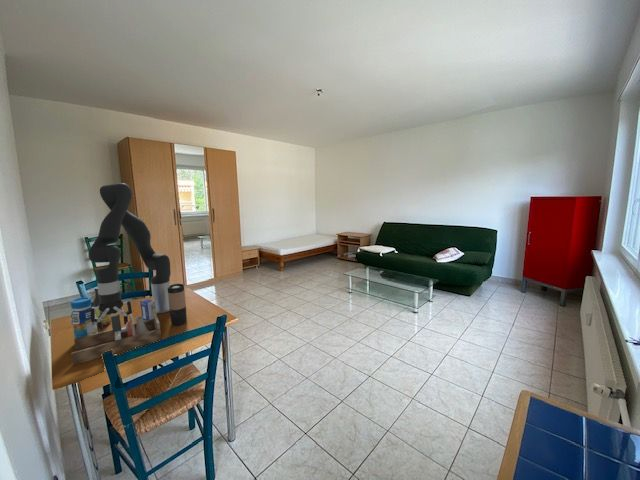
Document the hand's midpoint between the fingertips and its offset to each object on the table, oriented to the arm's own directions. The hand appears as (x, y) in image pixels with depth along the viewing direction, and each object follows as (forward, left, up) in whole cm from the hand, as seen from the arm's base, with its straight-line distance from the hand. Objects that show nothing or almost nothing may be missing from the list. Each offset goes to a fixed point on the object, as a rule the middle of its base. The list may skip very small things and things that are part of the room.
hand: (113, 326), depth 118 cm
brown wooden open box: (-2, 0, -9) cm, 9 cm away
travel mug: (-27, -6, -9) cm, 29 cm away
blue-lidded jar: (+10, -13, -9) cm, 19 cm away
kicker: (-3, 0, -9) cm, 9 cm away
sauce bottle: (+4, -28, -9) cm, 30 cm away
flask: (-10, -1, -9) cm, 14 cm away
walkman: (-15, -16, -9) cm, 24 cm away
